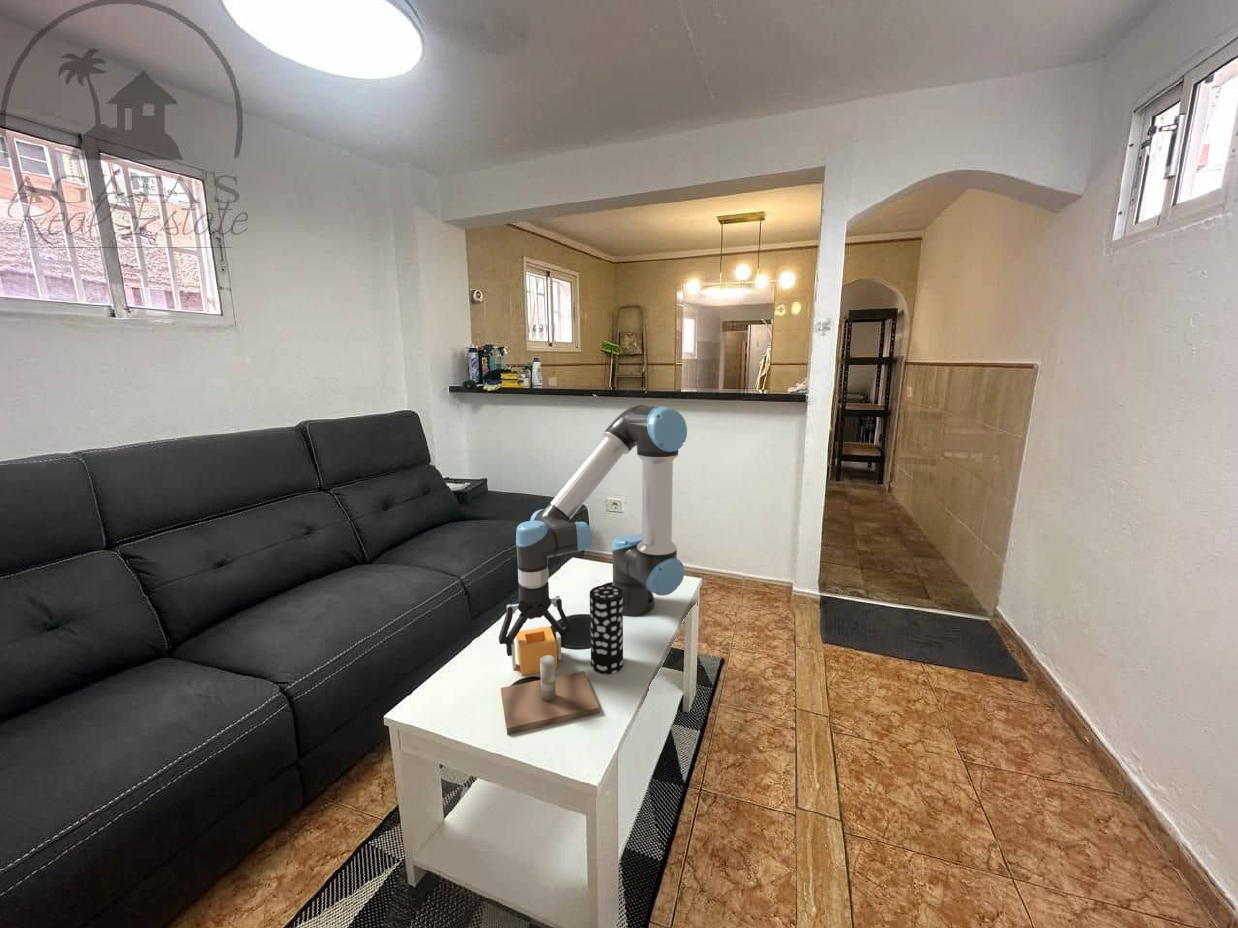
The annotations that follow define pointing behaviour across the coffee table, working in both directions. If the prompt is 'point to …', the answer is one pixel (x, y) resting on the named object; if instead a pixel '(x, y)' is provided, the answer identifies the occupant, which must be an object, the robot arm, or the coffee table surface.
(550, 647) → the collar
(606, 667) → the white-spotted black cylinder
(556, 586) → the coffee table surface
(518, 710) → the post board
